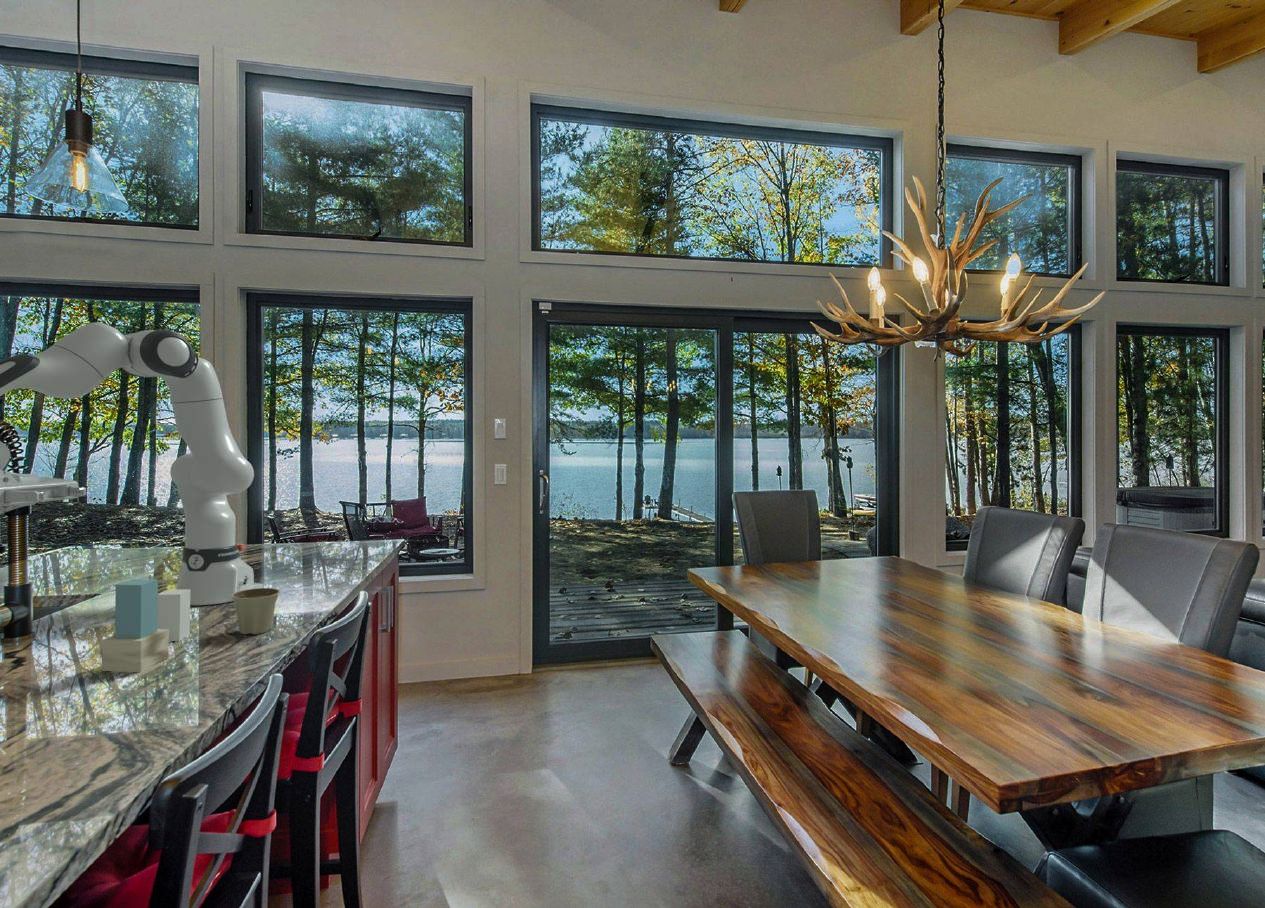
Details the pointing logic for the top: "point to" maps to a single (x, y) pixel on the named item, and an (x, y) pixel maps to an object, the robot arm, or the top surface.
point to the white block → (174, 613)
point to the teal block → (136, 608)
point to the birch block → (135, 652)
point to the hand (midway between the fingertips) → (62, 494)
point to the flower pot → (255, 609)
